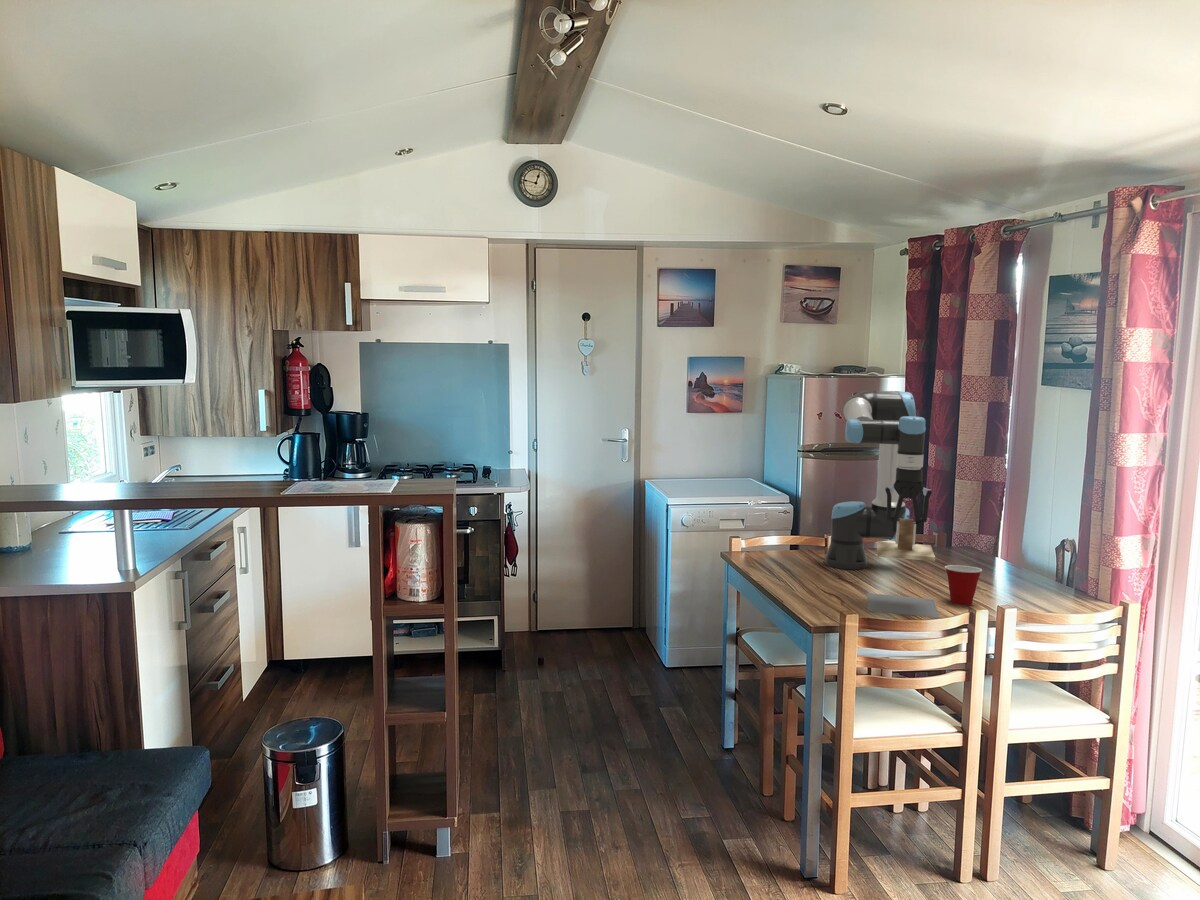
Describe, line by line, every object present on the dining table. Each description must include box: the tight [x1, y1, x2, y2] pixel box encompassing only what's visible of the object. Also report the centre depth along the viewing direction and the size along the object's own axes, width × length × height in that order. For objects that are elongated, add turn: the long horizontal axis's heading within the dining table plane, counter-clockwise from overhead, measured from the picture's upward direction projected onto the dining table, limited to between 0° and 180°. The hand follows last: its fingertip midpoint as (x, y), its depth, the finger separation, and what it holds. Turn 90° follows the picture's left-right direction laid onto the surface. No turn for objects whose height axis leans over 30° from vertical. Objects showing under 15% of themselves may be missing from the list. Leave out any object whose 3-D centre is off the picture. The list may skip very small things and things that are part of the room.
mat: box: [866, 592, 941, 619], centre depth 255 cm, size 20×20×1 cm
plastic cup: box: [944, 564, 983, 606], centre depth 258 cm, size 11×11×12 cm
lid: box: [875, 518, 936, 562], centre depth 252 cm, size 16×16×10 cm
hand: (905, 543), depth 253 cm, fingers closed on lid, 4 cm apart
